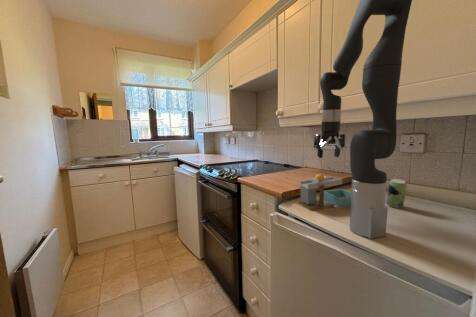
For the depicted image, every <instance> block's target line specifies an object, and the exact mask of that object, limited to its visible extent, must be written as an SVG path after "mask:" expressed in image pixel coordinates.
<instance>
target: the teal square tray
mask: <svg viewBox="0 0 476 317" xmlns="http://www.w3.org/2000/svg"><path fill="white" fill-rule="evenodd" d="M324 200H325V201H327V202H329V203H331V204H333V205H334V207H337V208H344V207H351V191H349V190H345V189H342V188H341V189H332V190H331V189H330V190H324Z"/></svg>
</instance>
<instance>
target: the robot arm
mask: <svg viewBox="0 0 476 317" xmlns="http://www.w3.org/2000/svg"><path fill="white" fill-rule="evenodd" d="M412 2H413V0H359V2H358V4H357V7H356V10H355V12H354V15H353V18H352V21H351V24H350V27H349V29H348V31H347V32H348V33H347V34H346V38H345V39H344V43H343V45H342V47H341V49H340V51H339V53H338V55H336V58H335V60H334V61H333V65H332V69H333V71H334V72H333V71H329V72H324V73H323V74H322V76H321V77H320V79H319V85H320V90H321V95H322V100H323V101H322V102H323V103H322V113H321V124H320V125H321V129H320V131H321V134H318V133H317V134H314V140H313V148H314V149H317V153H316V154H317V157H318V158H319V159H322V158H323V157H324V156H323V155H324V148H325V147H326V146H327V145H333V147H334V154H333V155H334V157H335V158H339V157H340V156H341V155H340V154H341V149H342V148H344V147H346V144H345V143H346V134H345V133H339V132H340V131H341V119H342V118H341V117H342V110H341V109H342V97H341V96H340V95H338V94H337V95H336V94H334V93H333V92H332V91H341V90H343V89H344V88H345V87H346V86H347V85H348V82H349V78H350V75H351V72H352V69H353V67H355V65H356V62H358V60H359V59H360V56H361V54H362V52H363V48H364V38H363V37H364V35H363V34H364V28H365V25H366V24H367V22H368V20H369V19H370V18H371V16H385V20H384V26H383V27H384V28H383V31H382V34H381V37H380V39H379V41H377V43H376V45H375V47H373V49H372V51H371V52H370V53H369V55H368V57H367V58H366V59H365V62H364V65H363V69H362V80H361V81H362V82H361V86H362V87H361V88H362V91H363V94H364V96H365V98H366V101H367V103H368V105H369V107H370V110H371V113H372V128H371V129H367V130H366V129H364V130H358V131H356V132H354V134H353V135H352V137H351V140H350V144H349V145H350V146H349V158H350V160H349V164H350V165H349V168H350V172H351V190H350V192H351V206H350V213H349V229H350V231H351V232H353V233H354V234H356V235H358V236H361V237H366V238H368V239H370V240H371V239H377V238H382V237H386V234H387V225H388V224H387V222H388V210H389V208H388V206H386V205H385V204H386V194H387V193H386V192H387V181H388V180H387V173H386V171H385V172H384V171H382V170H379V169H378V168H377V167H376V162H375V161H376V160H384V159H387V158H389V157H391V156H392V155H393V154H394V152H395V149H396V147H397V139H398V138H397V108H398V97H399V87H400V82H401V81H400V80H401V72H402V63H403V60H402V59H403V51H404V50H403V49H404V45H405V44H404V43H405V36H406V30H407V25H408V19H409V17H410V16H409V15H410V10H411V6H412Z"/></svg>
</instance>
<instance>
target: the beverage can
mask: <svg viewBox="0 0 476 317" xmlns="http://www.w3.org/2000/svg"><path fill="white" fill-rule="evenodd" d="M407 188H408V185H407V183H406V181H405V180H404V179H399V178H391V179H390V181H389V182H388V186H387V190H386V192H387V193H386V197H385V204H387V205H388V206H389V207H391V208H396V209H400V208H402V207H404V204H405V197H406V192H407Z"/></svg>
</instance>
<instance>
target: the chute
mask: <svg viewBox="0 0 476 317" xmlns="http://www.w3.org/2000/svg"><path fill="white" fill-rule="evenodd" d="M323 176H324V181H323V182H319V180H317V179H315V177H310V179H305V180H304V179H303V180H300V181H299V187H300V189H299V190H300V200H301V201H303V202H305V203H306V204H308V205H309V204H315V203H316V198H317V189H320V185H324V188H326V187H332V186H340V185H343V179H342V178H337V179H334V177H333V176H325V175H323Z"/></svg>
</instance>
